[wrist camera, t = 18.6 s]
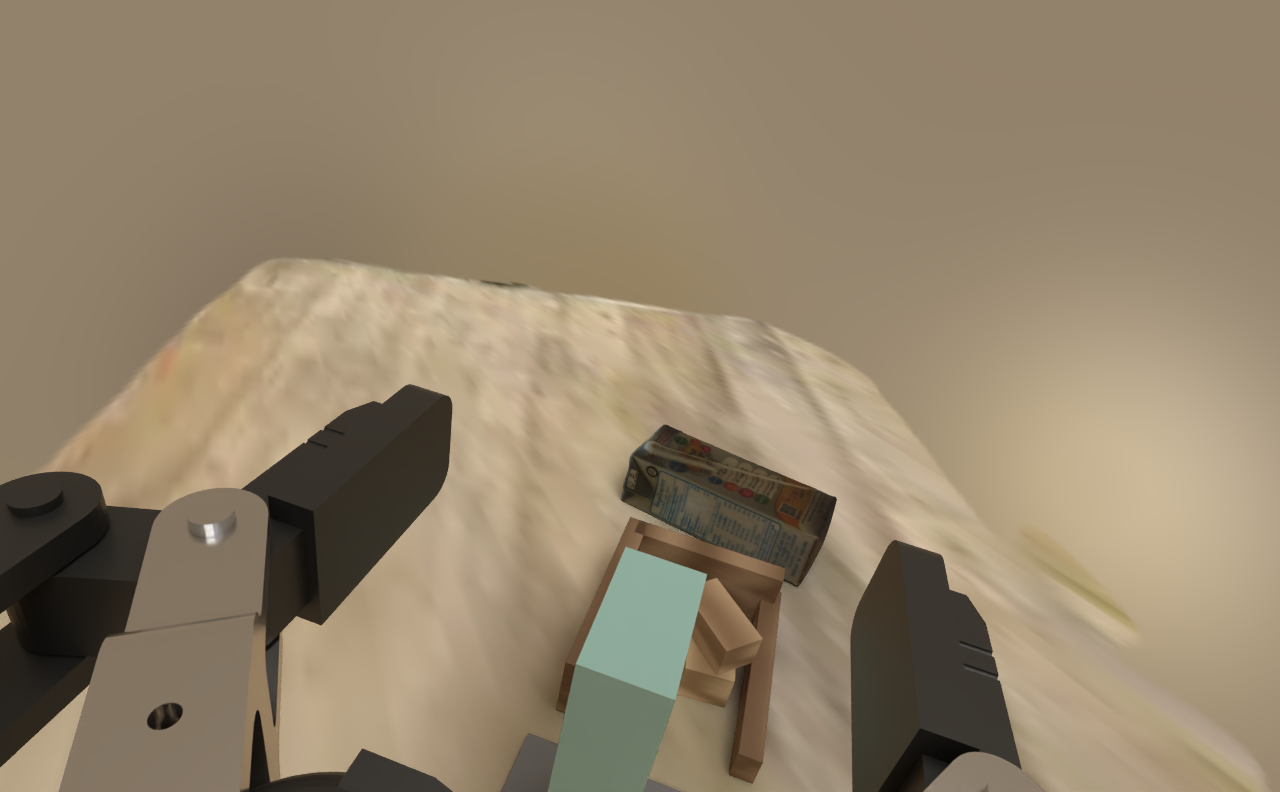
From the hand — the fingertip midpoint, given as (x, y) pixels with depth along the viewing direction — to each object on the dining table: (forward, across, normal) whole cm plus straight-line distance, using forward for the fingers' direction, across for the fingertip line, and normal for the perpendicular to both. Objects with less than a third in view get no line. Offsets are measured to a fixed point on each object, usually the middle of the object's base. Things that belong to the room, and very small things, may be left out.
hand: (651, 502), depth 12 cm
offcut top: (+27, -5, +32) cm, 42 cm away
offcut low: (+27, -5, +35) cm, 45 cm away
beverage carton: (+44, -3, +36) cm, 57 cm away
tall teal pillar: (+11, 0, +35) cm, 36 cm away
